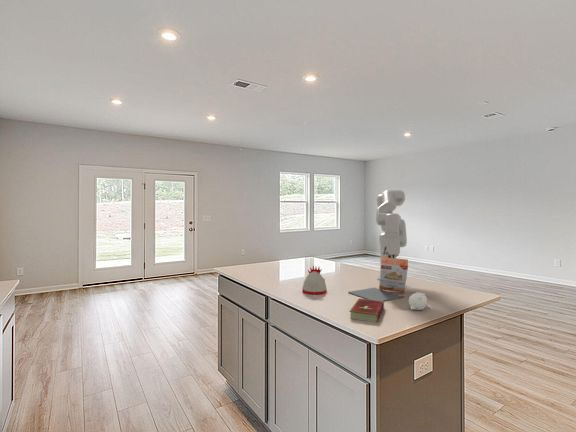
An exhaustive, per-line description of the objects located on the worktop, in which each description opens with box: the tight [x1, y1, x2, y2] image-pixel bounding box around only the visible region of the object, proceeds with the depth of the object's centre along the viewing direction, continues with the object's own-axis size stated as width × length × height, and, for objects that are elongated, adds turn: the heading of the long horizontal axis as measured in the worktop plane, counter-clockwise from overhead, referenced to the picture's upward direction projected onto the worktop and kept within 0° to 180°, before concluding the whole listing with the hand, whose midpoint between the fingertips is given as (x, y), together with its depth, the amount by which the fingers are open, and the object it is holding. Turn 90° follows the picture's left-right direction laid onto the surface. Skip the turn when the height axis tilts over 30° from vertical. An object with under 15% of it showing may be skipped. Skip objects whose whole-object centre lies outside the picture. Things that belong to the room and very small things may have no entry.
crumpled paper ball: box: [408, 291, 432, 311], centre depth 154 cm, size 9×11×12 cm
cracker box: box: [378, 257, 409, 294], centre depth 181 cm, size 14×6×21 cm
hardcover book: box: [349, 297, 385, 323], centre depth 148 cm, size 12×21×4 cm, turn 156°
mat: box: [347, 287, 405, 303], centre depth 178 cm, size 20×22×1 cm
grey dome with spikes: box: [302, 265, 328, 296], centre depth 186 cm, size 14×14×15 cm
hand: (391, 266), depth 187 cm, fingers closed
